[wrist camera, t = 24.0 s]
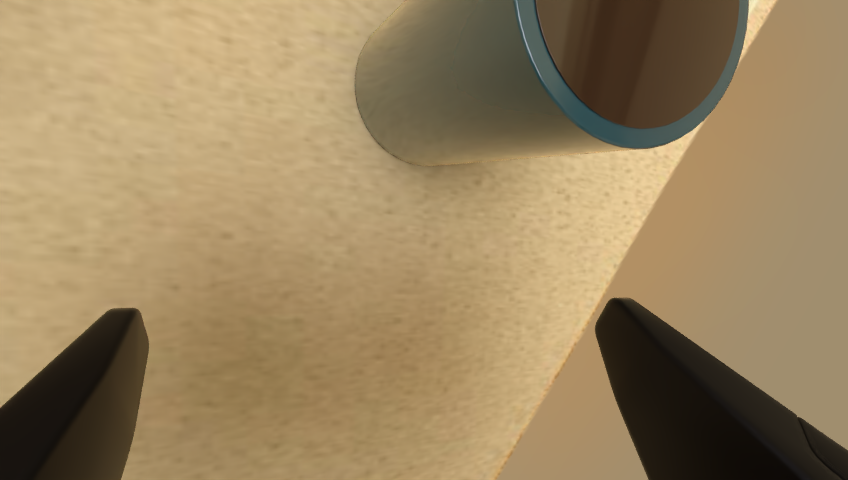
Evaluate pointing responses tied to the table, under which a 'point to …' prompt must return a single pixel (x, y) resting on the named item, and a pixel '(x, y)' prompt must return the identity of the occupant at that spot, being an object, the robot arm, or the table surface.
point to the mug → (544, 76)
